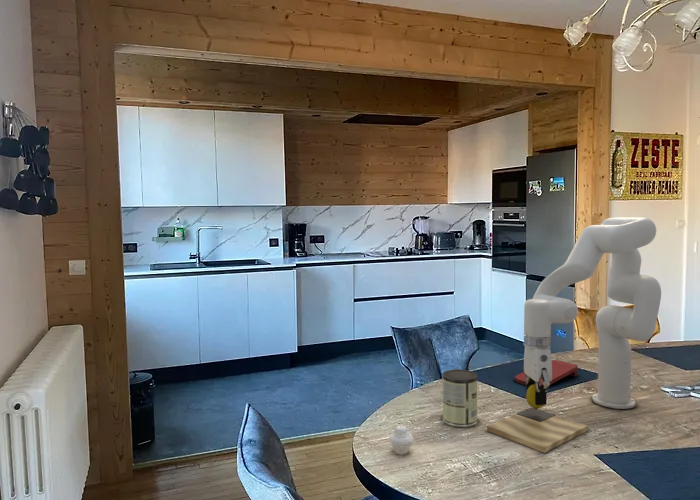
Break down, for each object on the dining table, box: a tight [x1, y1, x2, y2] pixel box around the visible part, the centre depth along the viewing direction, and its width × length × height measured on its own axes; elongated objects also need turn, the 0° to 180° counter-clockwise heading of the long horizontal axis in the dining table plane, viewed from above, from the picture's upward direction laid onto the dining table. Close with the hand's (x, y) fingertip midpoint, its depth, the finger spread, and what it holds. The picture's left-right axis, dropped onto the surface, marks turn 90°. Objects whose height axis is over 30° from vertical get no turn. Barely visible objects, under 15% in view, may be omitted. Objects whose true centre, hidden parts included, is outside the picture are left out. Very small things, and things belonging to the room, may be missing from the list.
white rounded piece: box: [389, 425, 414, 455], centre depth 139 cm, size 6×6×7 cm
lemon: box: [525, 383, 544, 410], centre depth 159 cm, size 6×6×8 cm
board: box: [486, 406, 589, 454], centre depth 151 cm, size 22×18×2 cm
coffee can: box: [441, 369, 479, 428], centre depth 159 cm, size 10×10×14 cm
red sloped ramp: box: [514, 359, 579, 386], centre depth 198 cm, size 12×5×25 cm
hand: (536, 400), depth 159 cm, fingers closed on lemon, 5 cm apart
